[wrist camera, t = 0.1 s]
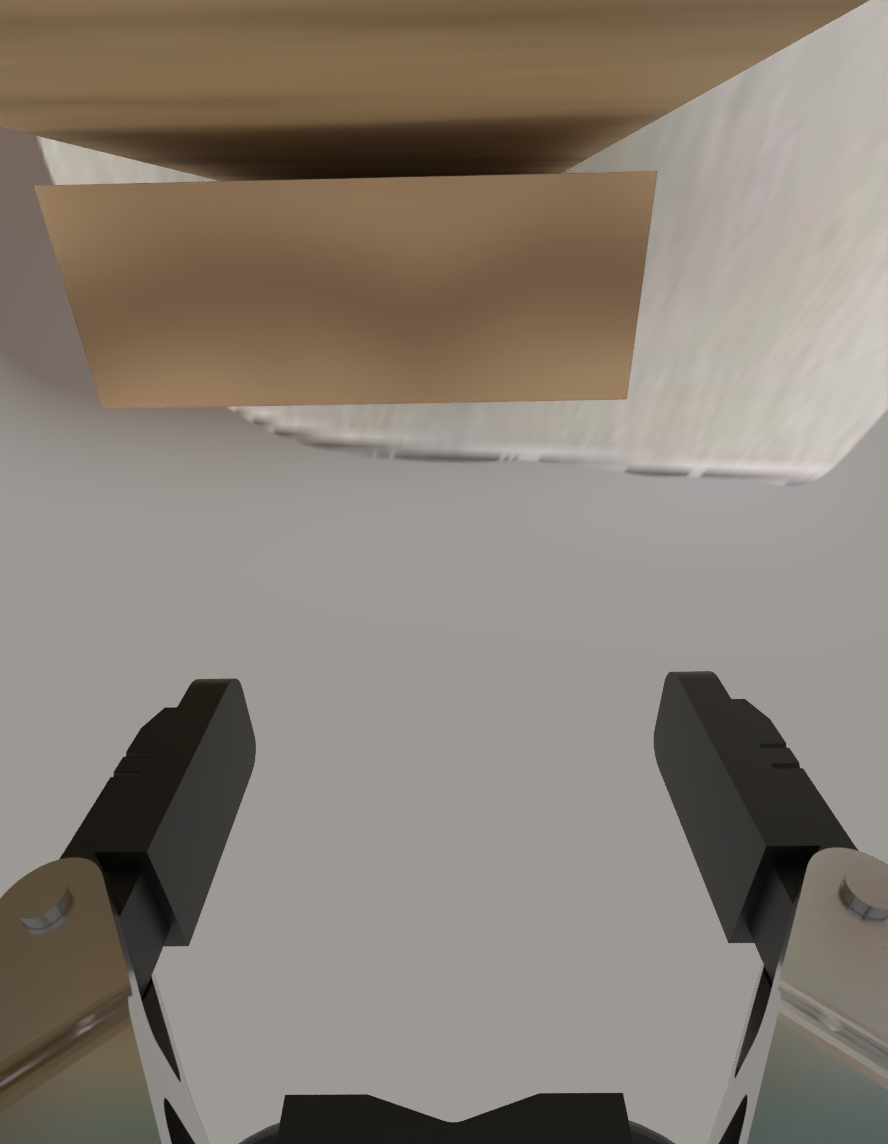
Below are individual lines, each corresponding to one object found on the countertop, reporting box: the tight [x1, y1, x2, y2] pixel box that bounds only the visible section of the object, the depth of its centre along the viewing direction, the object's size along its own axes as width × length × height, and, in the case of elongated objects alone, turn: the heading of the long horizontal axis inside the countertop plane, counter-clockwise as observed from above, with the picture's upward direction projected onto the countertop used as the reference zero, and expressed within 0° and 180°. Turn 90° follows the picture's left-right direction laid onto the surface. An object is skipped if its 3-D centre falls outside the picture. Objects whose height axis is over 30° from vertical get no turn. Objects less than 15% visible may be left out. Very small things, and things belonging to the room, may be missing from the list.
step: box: [34, 171, 657, 409], centre depth 24 cm, size 5×14×22 cm, turn 91°
